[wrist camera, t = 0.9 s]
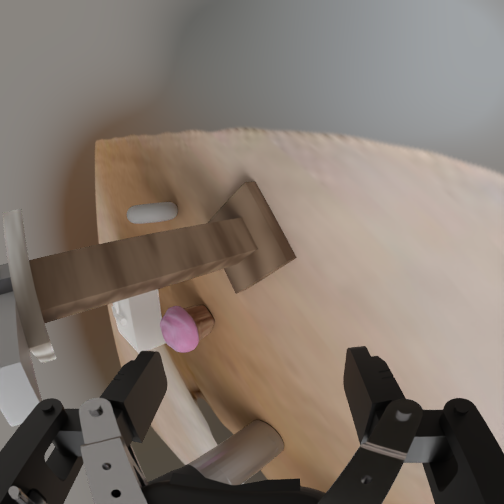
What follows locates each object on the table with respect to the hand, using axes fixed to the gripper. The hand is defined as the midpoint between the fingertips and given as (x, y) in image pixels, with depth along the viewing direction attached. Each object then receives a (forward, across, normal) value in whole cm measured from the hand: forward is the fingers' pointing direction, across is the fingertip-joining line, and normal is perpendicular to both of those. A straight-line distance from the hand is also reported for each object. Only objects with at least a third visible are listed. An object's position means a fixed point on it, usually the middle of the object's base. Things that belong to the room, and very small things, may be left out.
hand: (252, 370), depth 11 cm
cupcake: (+41, -12, -18) cm, 46 cm away
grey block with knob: (+4, -18, 0) cm, 19 cm away
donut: (+46, -18, +4) cm, 49 cm away
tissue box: (+59, -33, -19) cm, 70 cm away
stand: (+32, -2, -1) cm, 32 cm away
